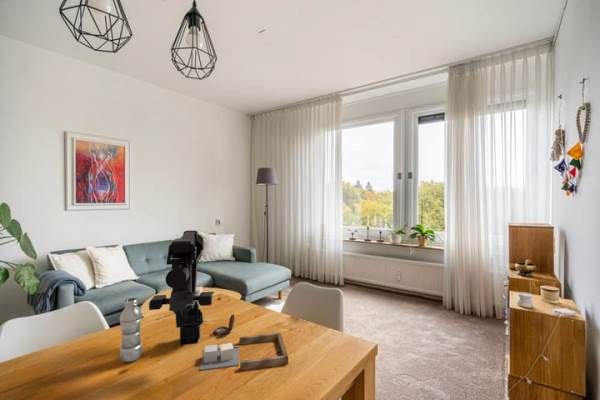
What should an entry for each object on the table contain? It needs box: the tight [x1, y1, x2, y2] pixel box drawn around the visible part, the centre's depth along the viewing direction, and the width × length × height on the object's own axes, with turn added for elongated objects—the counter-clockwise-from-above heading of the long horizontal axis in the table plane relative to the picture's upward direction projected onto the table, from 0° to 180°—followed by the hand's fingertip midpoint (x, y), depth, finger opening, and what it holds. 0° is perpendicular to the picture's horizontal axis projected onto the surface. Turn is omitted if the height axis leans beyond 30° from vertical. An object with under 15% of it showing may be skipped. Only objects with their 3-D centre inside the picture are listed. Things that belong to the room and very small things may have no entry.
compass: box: [213, 313, 235, 337], centre depth 114 cm, size 8×8×7 cm
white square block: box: [219, 342, 234, 361], centre depth 97 cm, size 4×4×4 cm
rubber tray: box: [199, 345, 240, 371], centre depth 96 cm, size 12×12×1 cm
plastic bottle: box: [119, 297, 144, 363], centre depth 95 cm, size 6×7×20 cm
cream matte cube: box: [204, 344, 219, 363], centre depth 95 cm, size 4×4×4 cm
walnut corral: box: [238, 332, 289, 371], centre depth 99 cm, size 15×17×2 cm
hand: (182, 326), depth 93 cm, fingers closed
